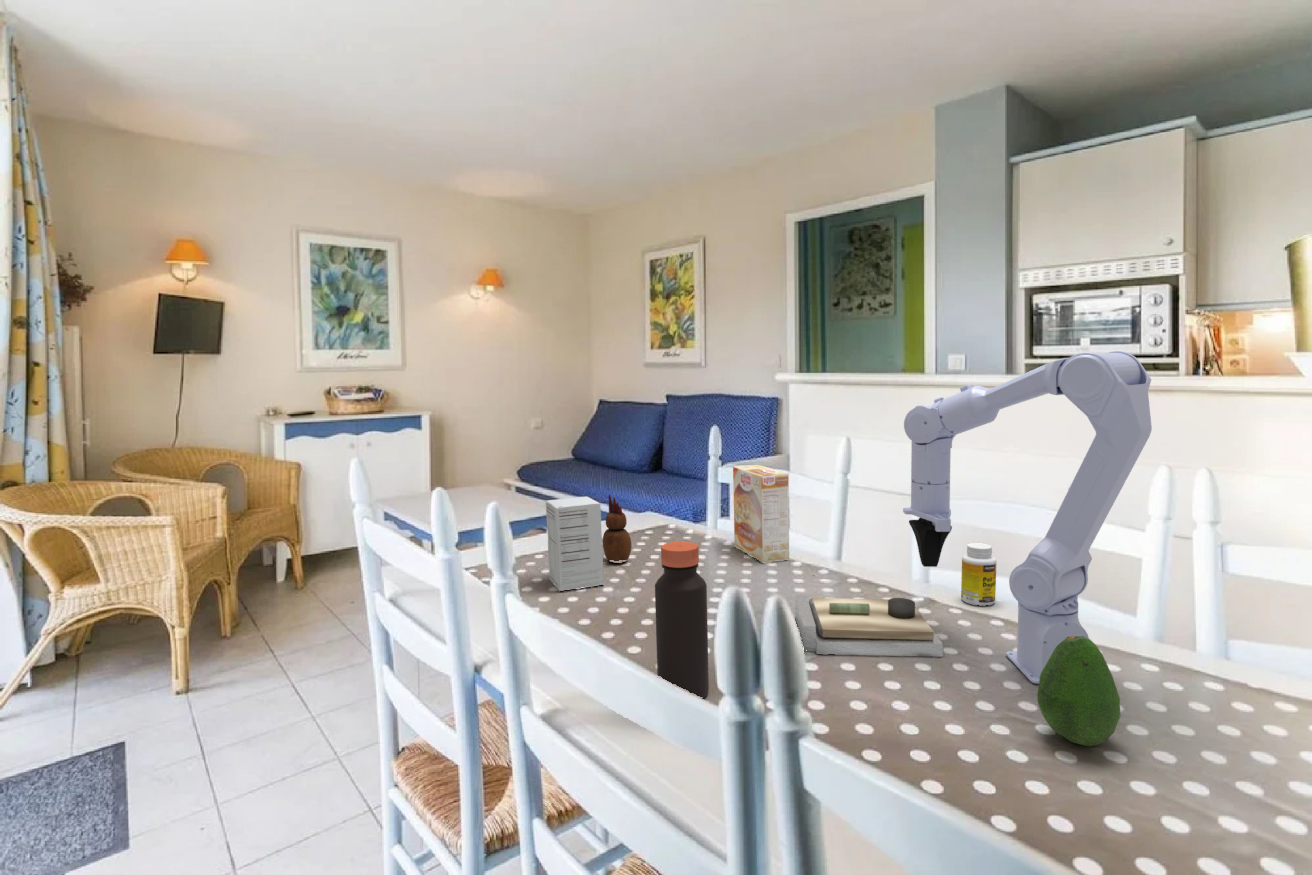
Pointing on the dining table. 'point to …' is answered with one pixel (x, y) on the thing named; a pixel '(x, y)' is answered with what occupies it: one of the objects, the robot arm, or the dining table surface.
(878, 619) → the plate
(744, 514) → the coffeecake box
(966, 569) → the supplement bottle
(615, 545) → the wooden figurine
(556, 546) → the supplement box
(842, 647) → the level base
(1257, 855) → the dining table surface
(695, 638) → the vinegar
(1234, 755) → the dining table surface
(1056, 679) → the avocado
